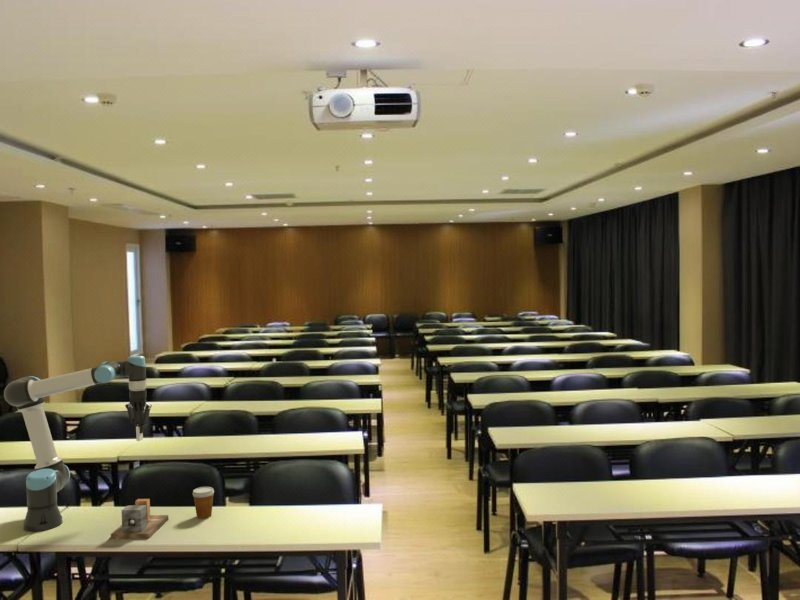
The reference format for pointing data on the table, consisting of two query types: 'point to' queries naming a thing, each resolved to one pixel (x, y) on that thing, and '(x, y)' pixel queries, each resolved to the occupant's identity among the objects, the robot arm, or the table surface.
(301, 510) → the table surface
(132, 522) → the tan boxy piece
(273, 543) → the table surface
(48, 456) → the robot arm
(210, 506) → the disposable coffee cup
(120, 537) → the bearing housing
